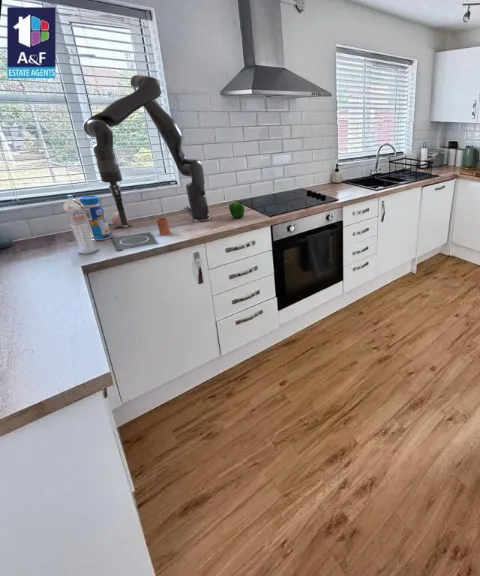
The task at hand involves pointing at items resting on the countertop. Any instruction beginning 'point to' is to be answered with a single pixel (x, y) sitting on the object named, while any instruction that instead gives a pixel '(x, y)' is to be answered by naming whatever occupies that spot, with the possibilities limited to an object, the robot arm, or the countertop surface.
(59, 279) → the countertop surface
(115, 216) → the egg
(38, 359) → the countertop surface
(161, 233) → the pen pot
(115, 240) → the slate board
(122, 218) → the marker
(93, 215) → the blue lidded canister
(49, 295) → the countertop surface
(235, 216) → the bell pepper
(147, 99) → the robot arm
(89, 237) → the water bottle
